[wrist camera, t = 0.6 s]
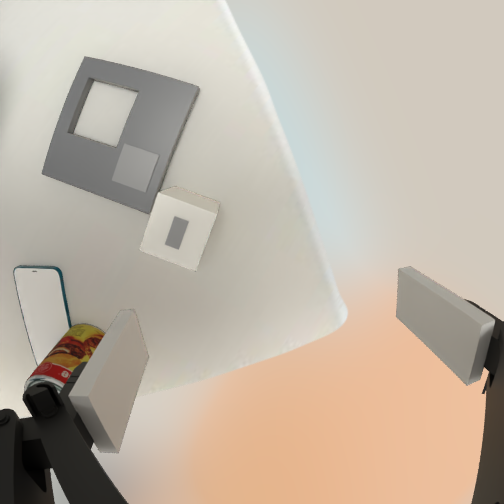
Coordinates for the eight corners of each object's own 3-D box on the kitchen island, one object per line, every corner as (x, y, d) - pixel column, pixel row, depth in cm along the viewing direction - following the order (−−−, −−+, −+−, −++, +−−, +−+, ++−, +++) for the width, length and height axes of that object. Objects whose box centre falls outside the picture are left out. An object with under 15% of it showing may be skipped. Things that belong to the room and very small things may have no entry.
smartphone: (85, 374, 39) (62, 265, 34) (83, 377, 38) (59, 268, 34) (40, 367, 38) (15, 264, 34) (38, 370, 37) (11, 266, 33)
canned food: (124, 374, 38) (98, 436, 27) (74, 373, 38) (41, 428, 26) (109, 322, 36) (72, 378, 25) (58, 323, 36) (13, 372, 24)
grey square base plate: (47, 173, 31) (40, 174, 30) (89, 60, 28) (84, 55, 27) (151, 212, 33) (148, 214, 32) (199, 89, 31) (198, 86, 29)
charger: (160, 229, 34) (138, 251, 25) (175, 185, 33) (157, 192, 24) (203, 245, 35) (195, 272, 26) (220, 202, 34) (217, 214, 25)
